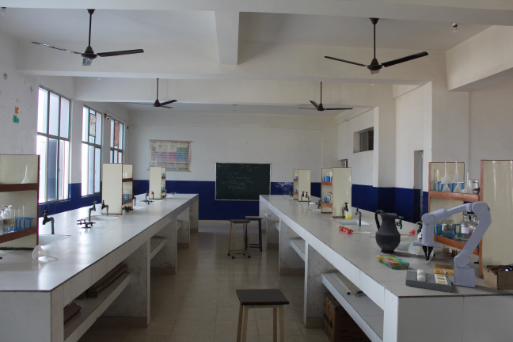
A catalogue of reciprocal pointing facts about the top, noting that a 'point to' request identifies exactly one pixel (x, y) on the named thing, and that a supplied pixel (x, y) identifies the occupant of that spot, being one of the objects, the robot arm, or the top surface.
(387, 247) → the pitcher
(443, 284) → the board
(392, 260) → the puzzle game
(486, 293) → the top surface
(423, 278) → the button
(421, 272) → the button middle
